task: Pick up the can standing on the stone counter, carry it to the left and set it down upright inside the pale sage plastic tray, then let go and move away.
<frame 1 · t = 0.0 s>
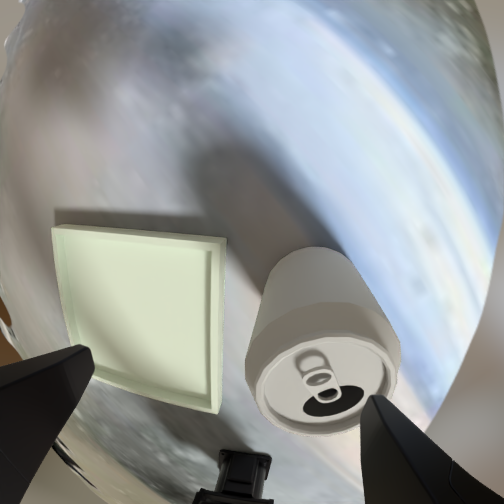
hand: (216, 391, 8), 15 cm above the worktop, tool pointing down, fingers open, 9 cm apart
tray: (137, 317, 25), on the worktop
can: (313, 289, 22), on the worktop
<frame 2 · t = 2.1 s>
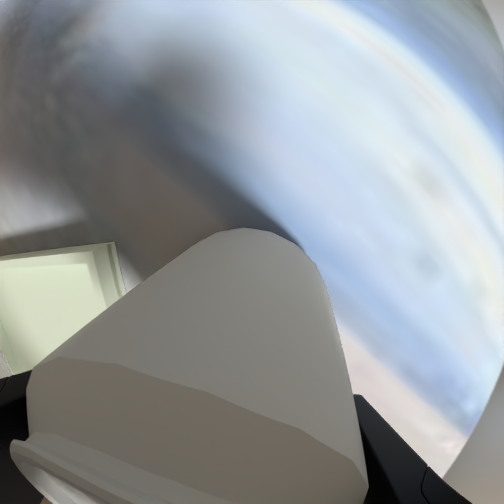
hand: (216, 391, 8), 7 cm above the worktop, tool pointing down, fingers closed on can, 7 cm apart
tray: (63, 356, 17), on the worktop
can: (249, 299, 14), on the worktop, touching gripper
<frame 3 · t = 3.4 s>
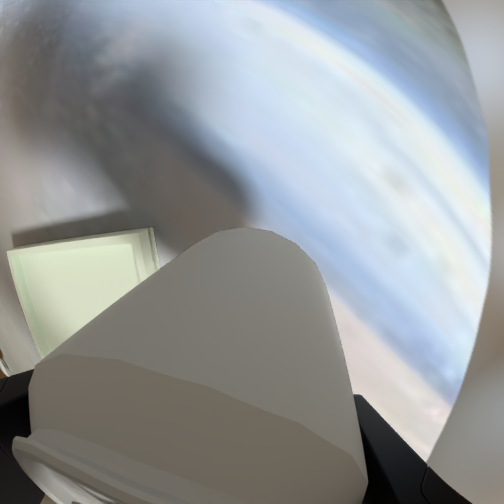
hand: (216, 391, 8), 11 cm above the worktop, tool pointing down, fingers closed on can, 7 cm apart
tray: (94, 330, 22), on the worktop
can: (250, 298, 14), point 4 cm above the worktop, touching gripper
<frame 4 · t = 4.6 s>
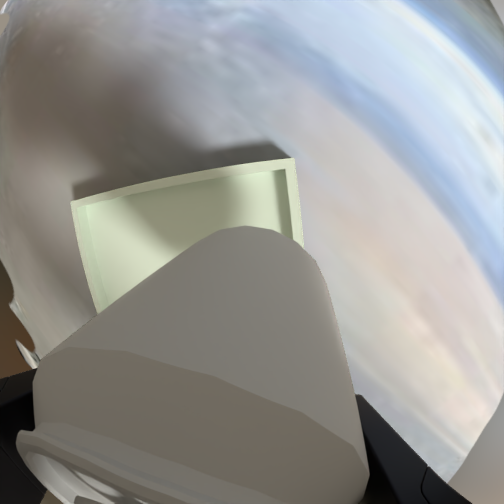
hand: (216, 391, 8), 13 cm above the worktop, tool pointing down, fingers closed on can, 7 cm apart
tray: (192, 291, 21), on the worktop
can: (251, 296, 14), point 6 cm above the worktop, touching gripper
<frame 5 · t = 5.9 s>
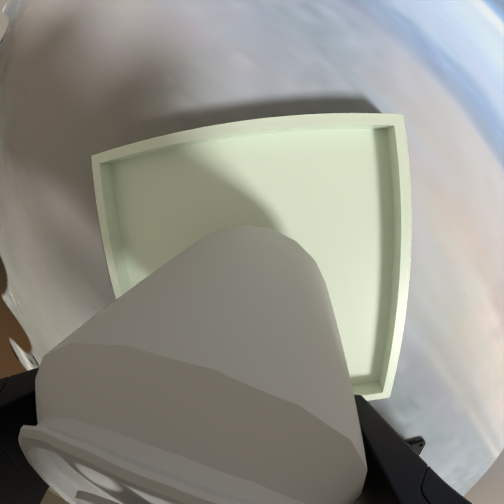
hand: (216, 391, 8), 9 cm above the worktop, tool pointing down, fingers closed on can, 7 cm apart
tray: (254, 278, 16), on the worktop
can: (251, 295, 14), point 2 cm above the worktop, touching gripper
when the fingers open (8 cm above the worktop, at t = 7.1 s): can stays where it is, resting on tray.
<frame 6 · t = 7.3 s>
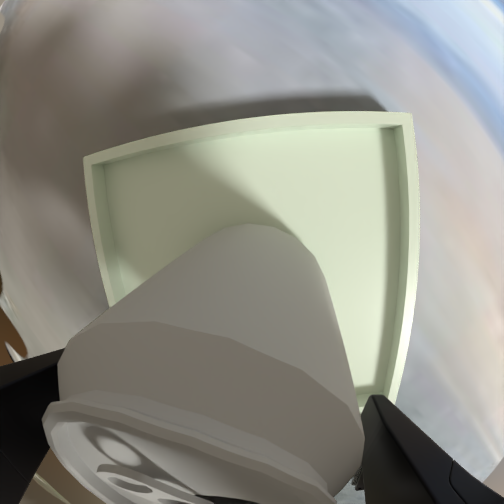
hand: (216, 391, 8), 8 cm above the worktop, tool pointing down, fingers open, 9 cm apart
tray: (254, 285, 16), on the worktop
can: (254, 290, 15), point 1 cm above the worktop, touching tray
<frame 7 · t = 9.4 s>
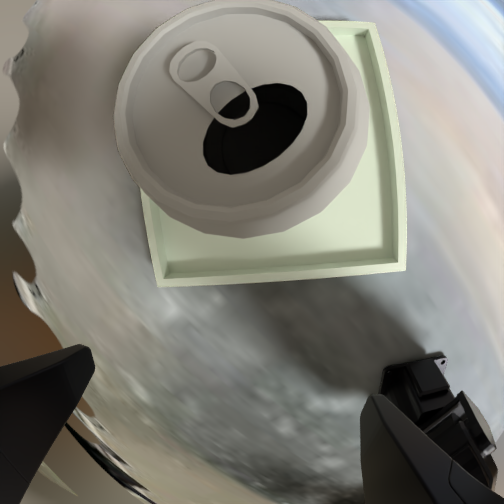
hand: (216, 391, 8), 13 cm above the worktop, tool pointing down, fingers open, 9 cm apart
tray: (267, 147, 18), on the worktop
can: (267, 146, 17), point 1 cm above the worktop, touching tray
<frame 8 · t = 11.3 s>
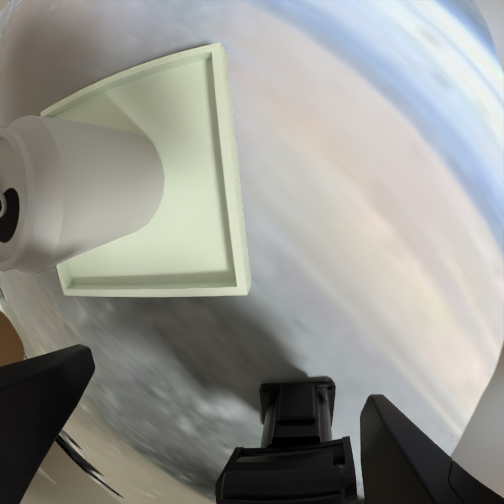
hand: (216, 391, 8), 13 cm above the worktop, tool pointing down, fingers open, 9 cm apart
tray: (130, 182, 20), on the worktop
can: (127, 182, 19), point 1 cm above the worktop, touching tray
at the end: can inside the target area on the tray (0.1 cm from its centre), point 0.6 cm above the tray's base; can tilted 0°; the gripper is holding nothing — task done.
